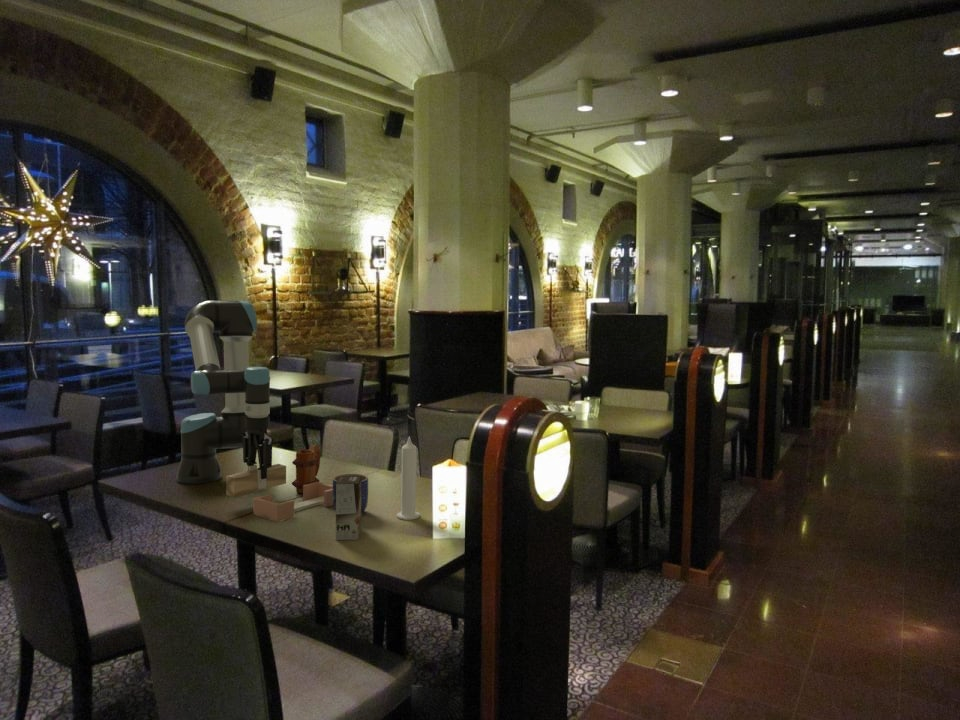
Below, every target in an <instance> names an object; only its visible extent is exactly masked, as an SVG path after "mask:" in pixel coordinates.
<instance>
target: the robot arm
mask: <svg viewBox="0 0 960 720" xmlns="http://www.w3.org/2000/svg"><path fill="white" fill-rule="evenodd" d="M184 329H185V333H186V336H188V337H189V340H190V345H191V351H192V356H193V362H194V367H195V371H192V372H191V376H190V386H191V392H192V393H193V394H194V395H220V394H225V396H224V397H225V406H224V408H222V410H221V414H220V415H221V416H217V415H216V413H214V412H208V413H207V412H204V413H203V412H202V413H197V414H192V415H189V416H186V417H184V418H183V419H182V420H181V423H180V434H181V435H180V436H181V437H180V440H181V441H180V443H181V445H180V448H181V450H180V451H181V454H180V456H181V458H180V459H181V460H180V462H179V465H178V468H177V472H176V481H177V482H178V483H181V484H188V485H189V484H191V485H196V484H207V483H212V482H216V481H218V480H221V479H222V469H221V467H220V464H219V462H218V458H217V450H220V449H232V448H242V460H243V463H244V464H246V465H247V471H250V470H254V469H258V489H263V488H266V478H267V468H270V467H272V465H273V443H274V440H275V439H274V437H270V436H269V435H268V433H269V432H268V429H269V427H270V425H271V424H270V421H271V420H270V416H269V415H270V414H271V412H270V411H271V403H270V401H271V400H270V397H271V396H270V395H271V394H270V393H271V391H270V390H271V389H270V383H271V382H270V381H271V376H270V374H271V373H270V369H269V368H268V367H266V366H250V357H249V356H250V355H249V342H250V341H251V340H252V338H253V334H254V333H256V332H257V331H258V320H257V314H256V310H255V307H254V305H253V304H252V303H251V302H250V301H246V300H213V299H212V300H211V299H210V300H205V301H202V302H200V303H198V304H196V305H195V306H193V307H192V308H191V309H190V310H189V311H188V313H187V314H186V317H185V320H184ZM213 333H218V334H219V339H220V340H221V341H222V342H223V353H224V359H223V360H224V369H221V366H220V360H219V356H218V351H217V346H216V343H215V337H214V334H213ZM257 459H258V462H257ZM258 466H259V467H258Z"/></svg>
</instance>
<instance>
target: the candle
mask: <svg viewBox="0 0 960 720" xmlns="http://www.w3.org/2000/svg"><path fill="white" fill-rule="evenodd" d="M407 438H408V439H407V442H406V443H405V444H404V445H402V447H401V470H400V471H401V478H400V479H401V482H400V483H401V487H400V493H401V494H400V511H399V512H397V513H396V517H397V519H399V520H402V519H403V520H404V521H411V520H412V521H414V520H417V519H419V518H420V516H421V515H420V512H418V511H416V509H417V507H416V506H417V500H416V499H417V451H418V450H417V446H416V445H415V444H413V442H412V440H411V436H408V437H407ZM403 520H402V521H403Z"/></svg>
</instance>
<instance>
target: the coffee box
mask: <svg viewBox="0 0 960 720" xmlns="http://www.w3.org/2000/svg"><path fill="white" fill-rule="evenodd" d="M361 531H362V514H361V476H358V475H347V476H340V477H339V479H338V480H337V482H336V510H335V540H336V541H337V540H338V541H346V540H347V541H348V540H349V541H352V540H353V541H354V540H357V541H358V539H359V536H360V533H361Z"/></svg>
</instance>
